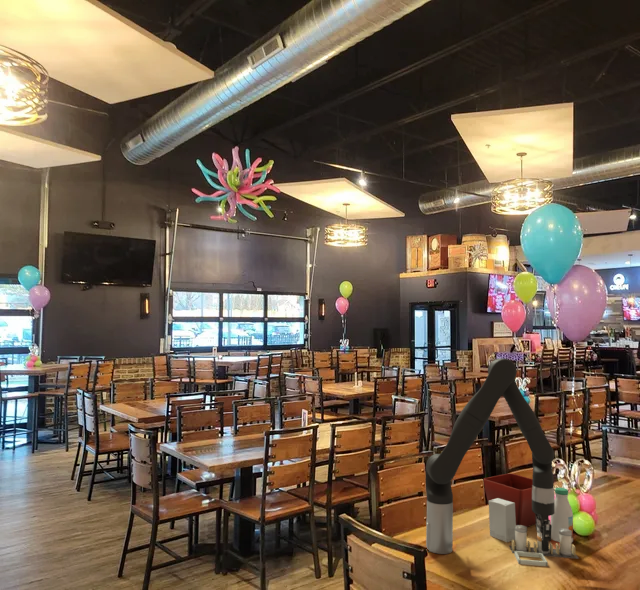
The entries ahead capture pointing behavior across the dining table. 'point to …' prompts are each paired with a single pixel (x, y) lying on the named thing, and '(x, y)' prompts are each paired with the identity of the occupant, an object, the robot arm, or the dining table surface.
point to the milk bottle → (561, 514)
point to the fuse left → (521, 538)
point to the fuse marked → (540, 542)
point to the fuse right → (565, 542)
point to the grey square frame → (530, 562)
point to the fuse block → (551, 551)
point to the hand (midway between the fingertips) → (543, 547)
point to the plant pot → (513, 495)
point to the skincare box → (502, 519)
